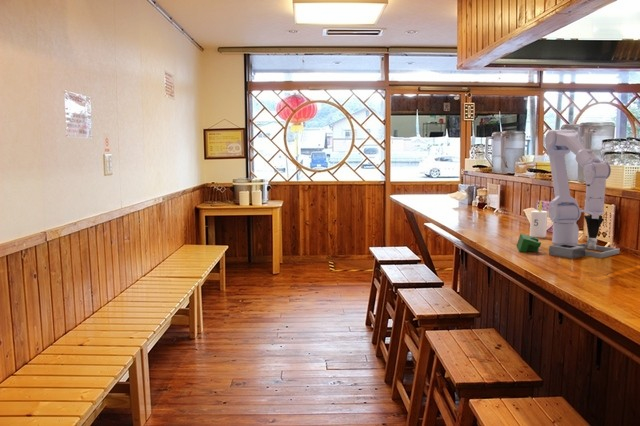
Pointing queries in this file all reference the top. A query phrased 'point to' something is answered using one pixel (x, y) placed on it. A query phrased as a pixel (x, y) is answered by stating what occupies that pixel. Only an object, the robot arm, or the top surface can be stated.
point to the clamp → (528, 243)
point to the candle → (538, 222)
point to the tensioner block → (567, 250)
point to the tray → (607, 250)
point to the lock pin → (591, 242)
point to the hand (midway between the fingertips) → (592, 236)
